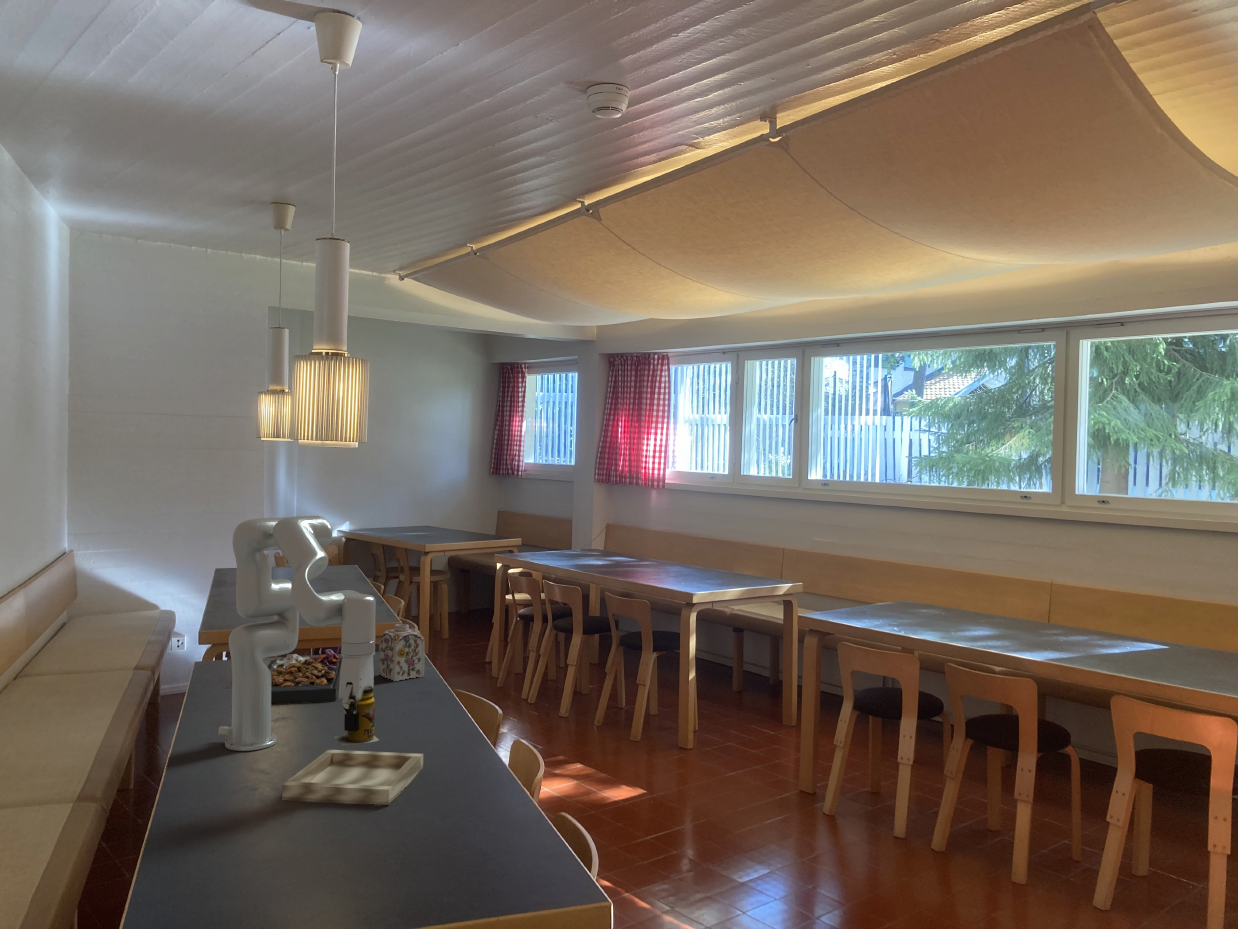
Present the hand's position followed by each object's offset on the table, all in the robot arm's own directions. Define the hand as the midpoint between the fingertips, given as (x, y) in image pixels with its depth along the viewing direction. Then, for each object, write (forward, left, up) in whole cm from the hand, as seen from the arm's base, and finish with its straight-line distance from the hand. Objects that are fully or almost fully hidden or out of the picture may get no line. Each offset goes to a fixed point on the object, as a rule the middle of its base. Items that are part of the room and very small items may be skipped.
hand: (357, 725), depth 205 cm
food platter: (-53, +84, -14) cm, 100 cm away
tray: (0, 0, -13) cm, 13 cm away
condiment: (0, 0, -3) cm, 3 cm away
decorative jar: (-24, +101, -14) cm, 105 cm away
